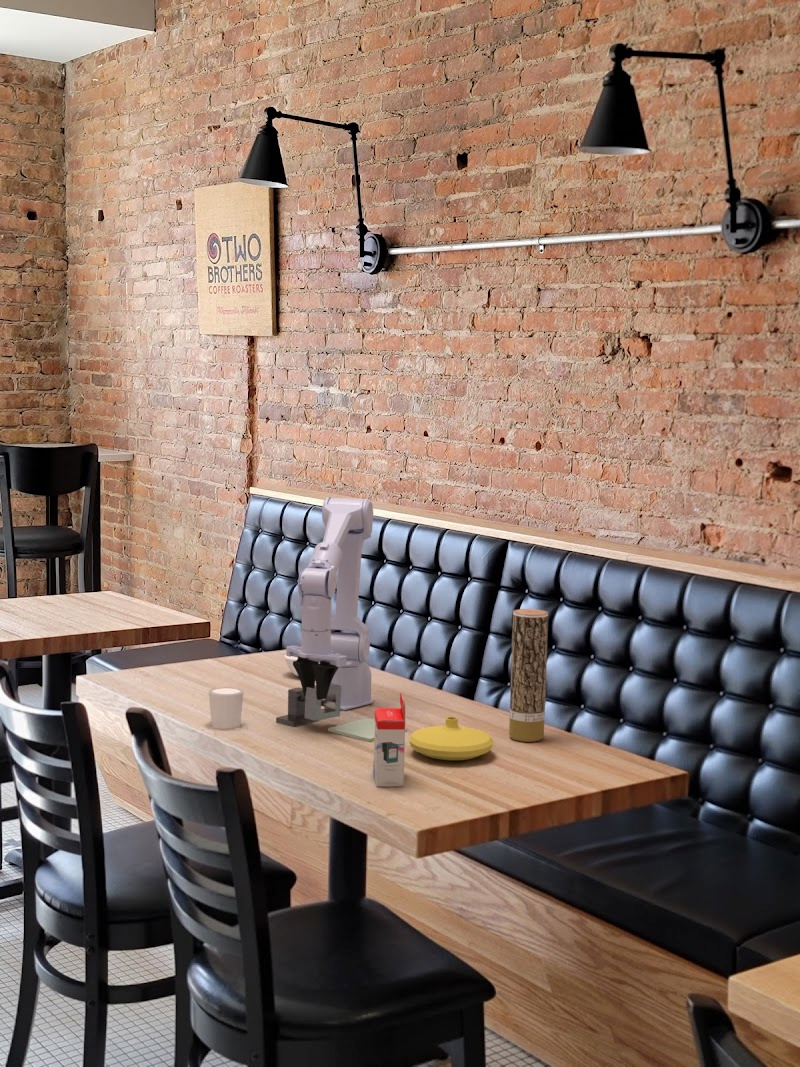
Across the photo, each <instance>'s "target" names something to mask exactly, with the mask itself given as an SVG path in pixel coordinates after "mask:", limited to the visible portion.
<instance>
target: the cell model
mask: <svg viewBox="0 0 800 1067" xmlns="http://www.w3.org/2000/svg"><path fill="white" fill-rule="evenodd" d="M283 657H284V659H285V662H286V665H287V668H288V670H290V671H291V673H292V674H293V675H295V676H297V677H299V676H298V673H297V671H296V669H295V668H294V666H293V661H297V659H298V657H294V656H291V657H289V656H286V654H284V655H283ZM318 664H320V662H319V663H318Z"/></svg>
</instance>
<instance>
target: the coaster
mask: <svg viewBox="0 0 800 1067" xmlns="http://www.w3.org/2000/svg"><path fill="white" fill-rule="evenodd" d="M327 731H328V733H329V732H331V733H334V734H338V735H341V736H346V737H350V738H353V739H358V740H361V741H365V742H369V743H371V742H374V734H375V719H370V718H365V717H364V718H361V719H357V720H354V721H350V722H347V723H343V724H340V725H339V724H338V725H335V726H331V727H328V728H327ZM407 731H408V728H407V727H405V733H406V732H407Z"/></svg>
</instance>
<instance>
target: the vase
mask: <svg viewBox="0 0 800 1067" xmlns="http://www.w3.org/2000/svg"><path fill="white" fill-rule="evenodd" d="M458 720H459V719H458V717H455V716H447V717H445V722H444V724H445V725H434V726H427V727H426V726H425V727H423V728H418V729H417V730H415V731H413V732H412V733H411V735H410V736H409V737H408V740H409V744H410V747H411V748H412V749H413V750H415V751H416V752H418V753H419V754H421V755H423V756H426V757H427V758H428V757H429V758H432V759H437V760H443V761H465V760H471V759H476V758H478V757H480V756H482V755H485V754H487V753H488V752H490V751H491V750H492V747H493V745H494V742H495V741H494V739H493V738H492V736H491V735H490V733H488V732H486V731H483V730H482V729H477V728H474V727H467V726H461V725H459V721H458Z"/></svg>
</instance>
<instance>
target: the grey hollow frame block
mask: <svg viewBox="0 0 800 1067" xmlns="http://www.w3.org/2000/svg"><path fill="white" fill-rule="evenodd" d="M324 700H325V701H329V702H333V703H336V704H337V707H336V709H332V708H327V707H324V708H322V706H321V700H318V699H317V695H316V684H315V686H308V687H306V698H305V717H304V718H307V719H310V720H314V721H315V722H318V721H322V720H327V719H331V718H332V719H333V718H338V717H340V716H341V709H340V704H341V685H337V684H332V683H331V684H330V687H329V691H328V695H327V698H326V699H324ZM317 720H318V721H317Z"/></svg>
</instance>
